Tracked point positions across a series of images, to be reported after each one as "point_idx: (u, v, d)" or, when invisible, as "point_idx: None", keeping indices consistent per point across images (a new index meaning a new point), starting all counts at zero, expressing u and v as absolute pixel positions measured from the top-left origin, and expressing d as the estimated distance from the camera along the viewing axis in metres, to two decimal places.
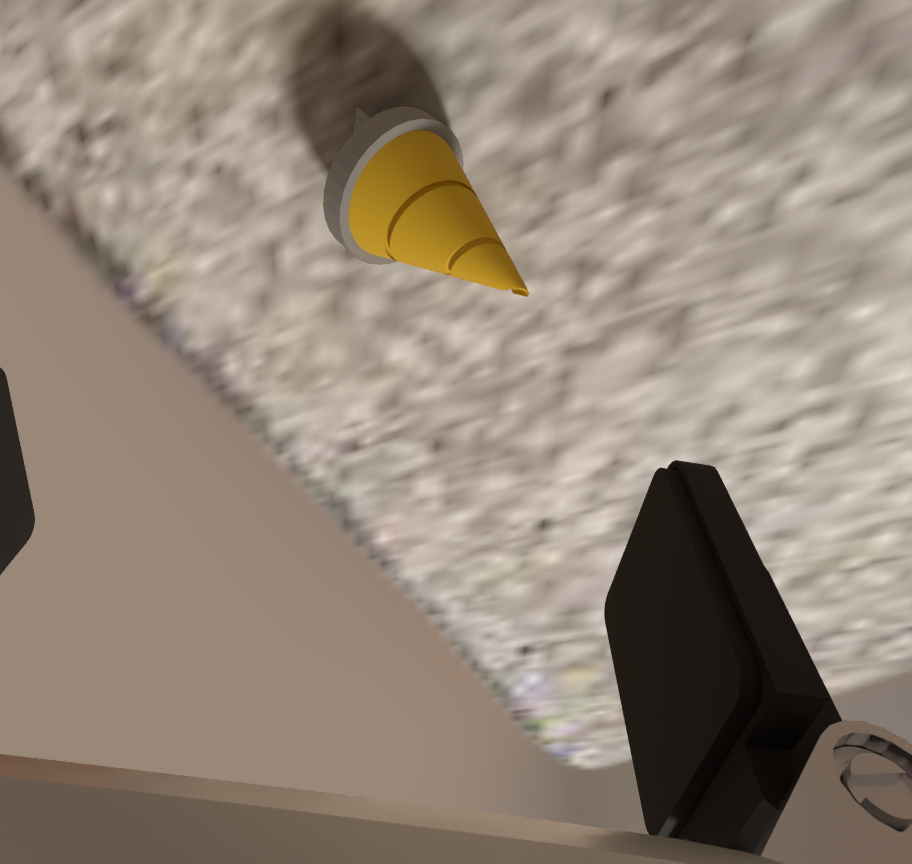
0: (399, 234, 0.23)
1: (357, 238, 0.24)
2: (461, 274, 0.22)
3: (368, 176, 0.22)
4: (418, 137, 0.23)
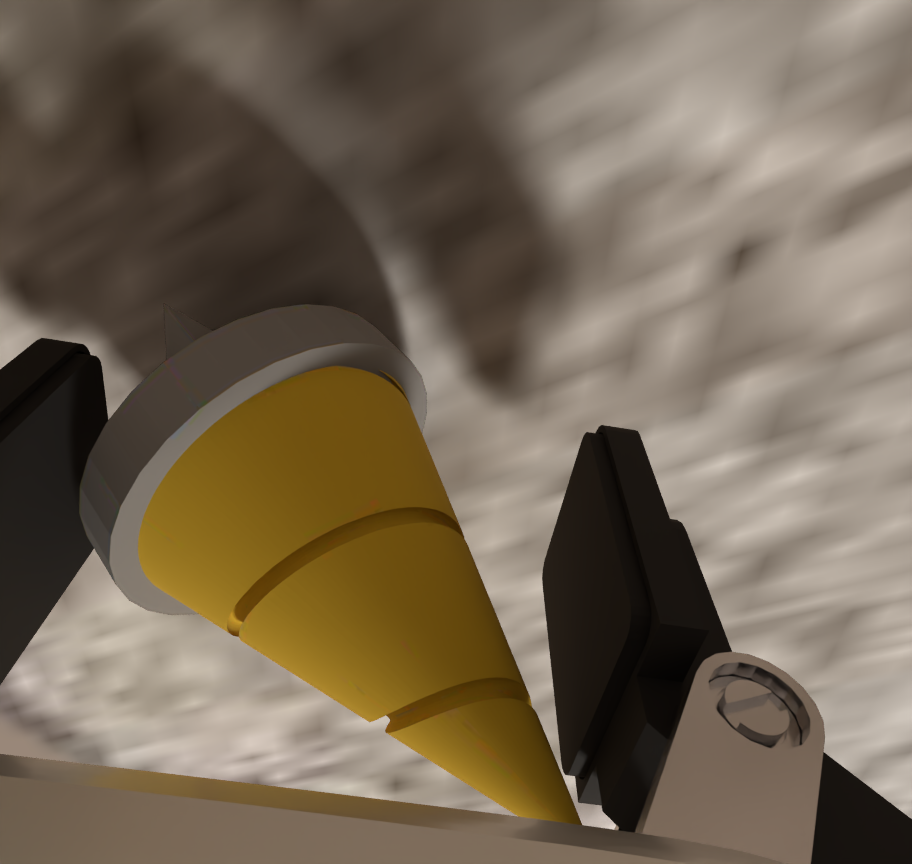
0: (257, 639, 0.09)
1: None
2: None
3: (172, 503, 0.09)
4: (304, 394, 0.09)
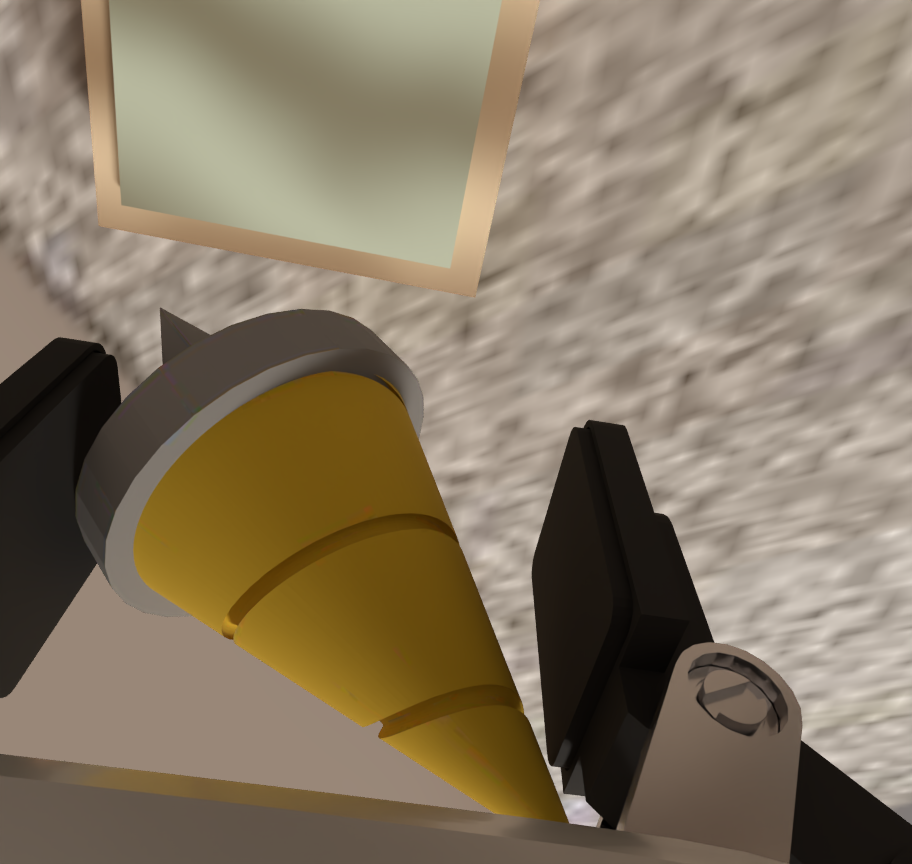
0: (251, 643, 0.09)
1: None
2: None
3: (167, 508, 0.09)
4: (299, 400, 0.09)
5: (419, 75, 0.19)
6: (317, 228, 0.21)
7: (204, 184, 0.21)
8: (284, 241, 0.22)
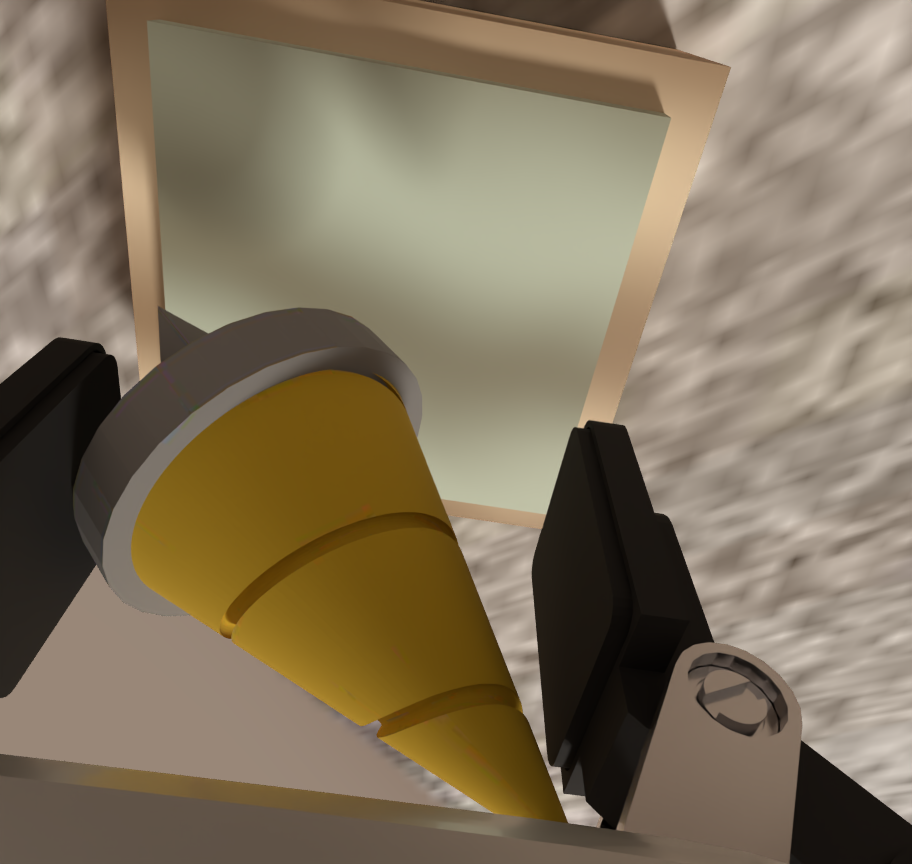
0: (249, 643, 0.09)
1: None
2: None
3: (164, 506, 0.09)
4: (297, 398, 0.09)
5: (525, 331, 0.16)
6: None
7: None
8: None
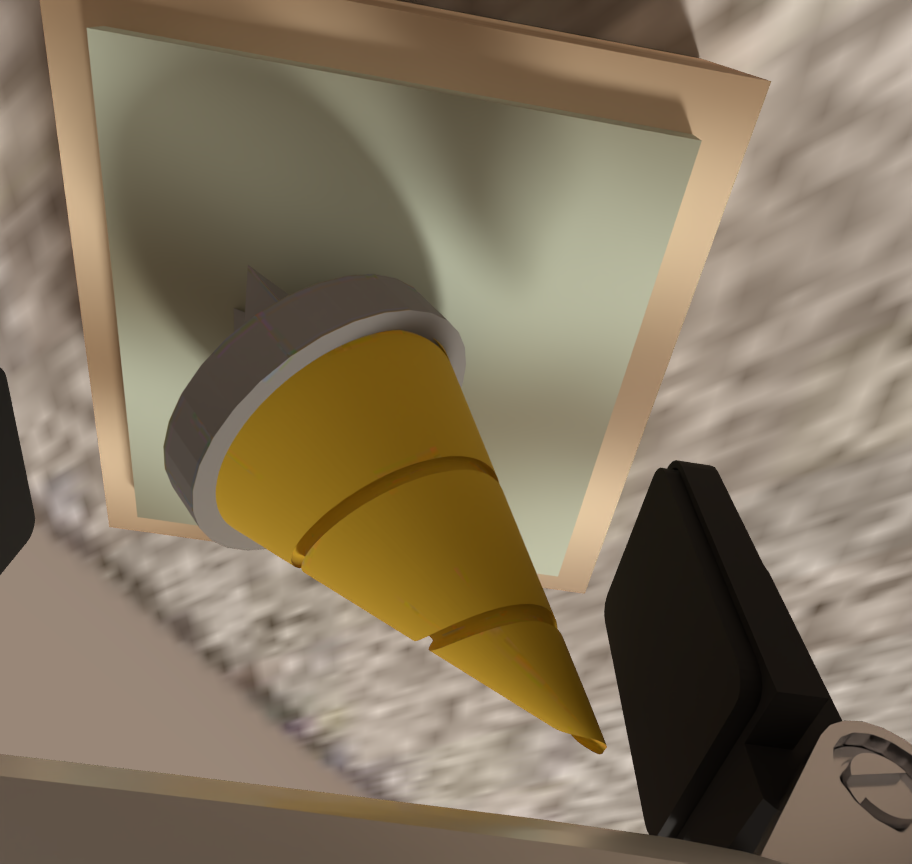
0: (321, 564, 0.10)
1: (237, 530, 0.11)
2: (453, 664, 0.10)
3: (256, 439, 0.10)
4: (375, 352, 0.10)
5: (531, 380, 0.14)
6: None
7: None
8: None
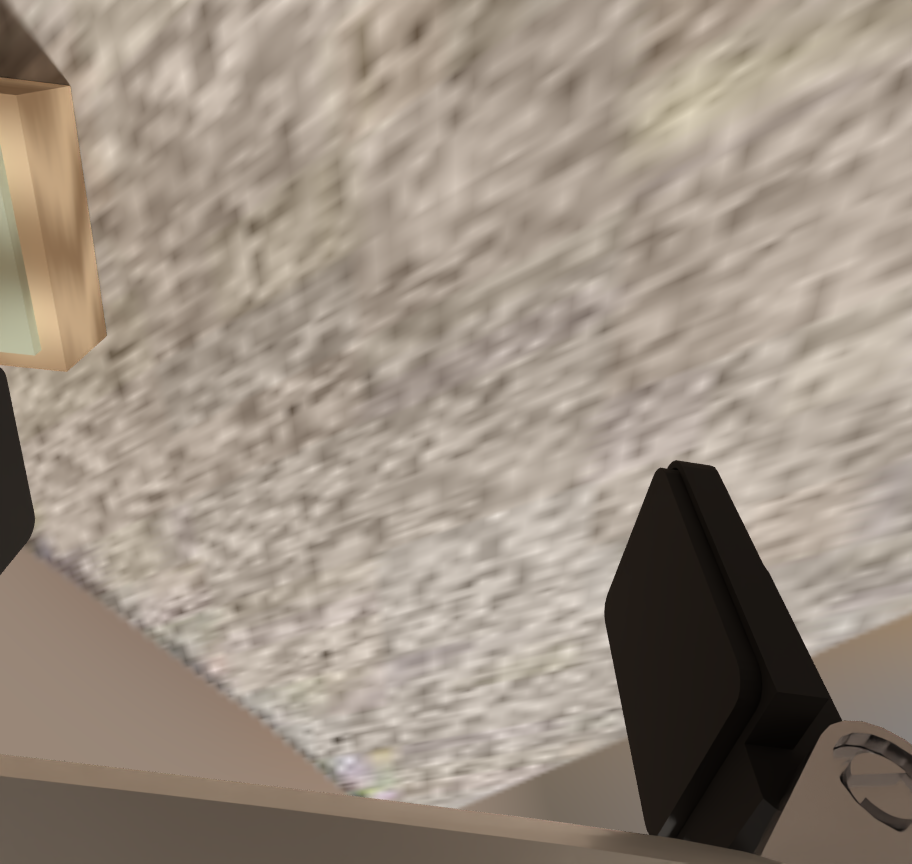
0: None
1: None
2: None
3: None
4: None
5: None
6: None
7: None
8: None
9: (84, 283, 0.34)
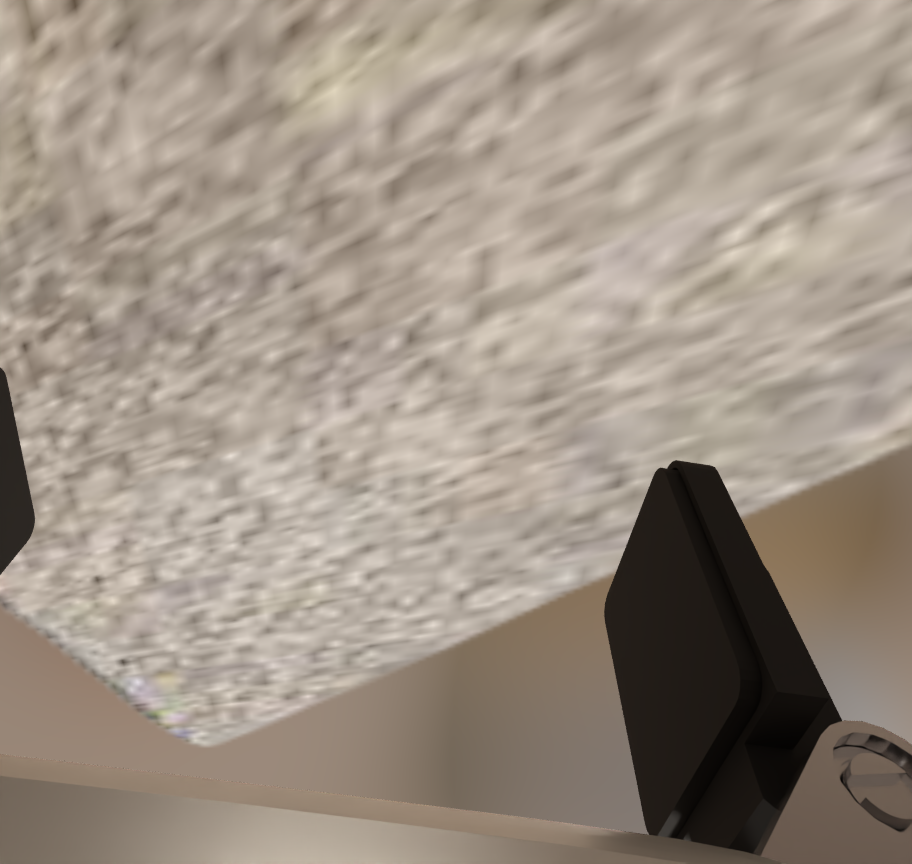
0: None
1: None
2: None
3: None
4: None
5: None
6: None
7: None
8: None
9: None
